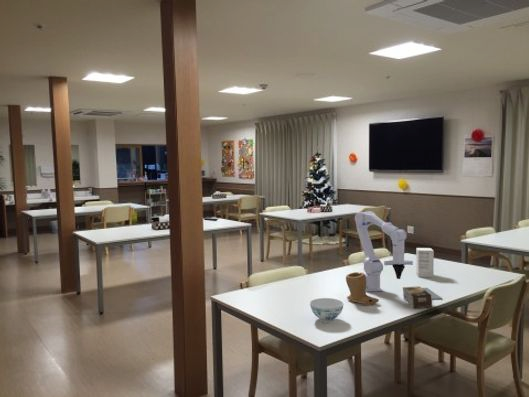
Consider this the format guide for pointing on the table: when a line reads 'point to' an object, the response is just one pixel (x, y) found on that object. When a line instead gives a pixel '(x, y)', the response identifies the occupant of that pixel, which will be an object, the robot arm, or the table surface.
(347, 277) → the brown boot shaped vase
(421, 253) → the supplement box
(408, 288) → the coffee box
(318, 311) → the chinaware
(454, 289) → the table surface
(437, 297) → the mat
